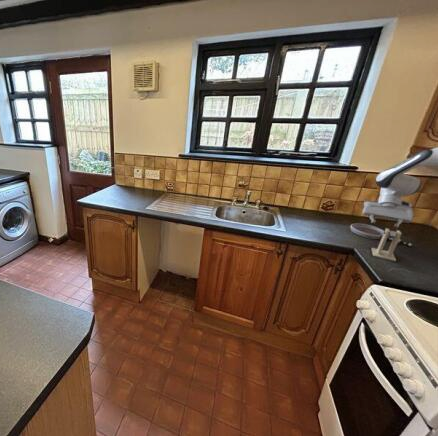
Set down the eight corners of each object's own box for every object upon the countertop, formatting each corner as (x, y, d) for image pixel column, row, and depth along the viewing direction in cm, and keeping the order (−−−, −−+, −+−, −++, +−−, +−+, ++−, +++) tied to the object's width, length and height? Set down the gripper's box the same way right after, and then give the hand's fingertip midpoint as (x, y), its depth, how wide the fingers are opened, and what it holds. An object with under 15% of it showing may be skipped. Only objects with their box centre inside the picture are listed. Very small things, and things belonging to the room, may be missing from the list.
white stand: (371, 249, 127) (381, 225, 122) (391, 254, 123) (402, 229, 118) (373, 257, 120) (384, 232, 115) (395, 262, 116) (407, 236, 110)
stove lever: (378, 240, 129) (379, 234, 129) (387, 242, 127) (389, 236, 127) (387, 236, 117) (389, 229, 117) (397, 238, 115) (399, 231, 115)
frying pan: (410, 247, 126) (346, 226, 146) (407, 252, 127) (344, 231, 148) (416, 238, 135) (356, 220, 156) (414, 243, 137) (354, 224, 157)
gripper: (366, 197, 139) (361, 217, 135) (416, 204, 128) (412, 227, 124) (362, 202, 144) (358, 222, 141) (410, 210, 133) (407, 232, 129)
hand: (384, 224), depth 132 cm, fingers open, 8 cm apart
